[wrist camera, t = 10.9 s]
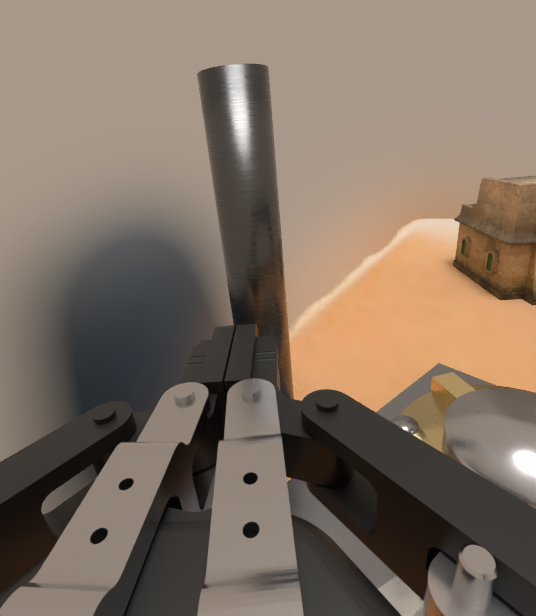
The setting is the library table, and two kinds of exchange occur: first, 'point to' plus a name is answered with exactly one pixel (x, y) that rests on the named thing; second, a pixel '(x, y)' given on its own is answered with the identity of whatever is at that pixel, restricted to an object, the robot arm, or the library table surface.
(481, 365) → the library table surface
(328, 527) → the housing plate
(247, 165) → the rod with disc
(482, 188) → the miniature house
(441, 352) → the library table surface
